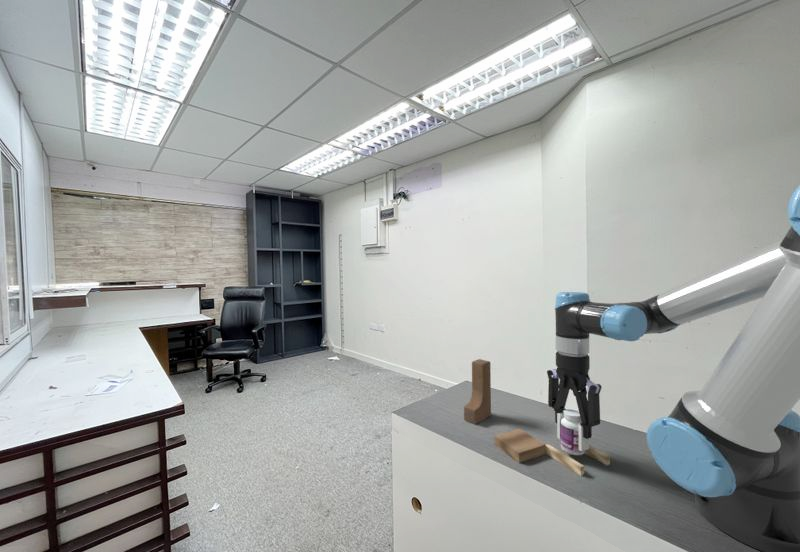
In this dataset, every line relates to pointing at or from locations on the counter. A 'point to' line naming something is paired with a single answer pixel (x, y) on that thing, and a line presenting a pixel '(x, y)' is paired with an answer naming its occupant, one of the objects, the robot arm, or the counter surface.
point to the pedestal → (520, 445)
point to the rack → (574, 464)
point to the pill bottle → (570, 432)
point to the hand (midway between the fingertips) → (572, 442)
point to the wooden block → (479, 393)
